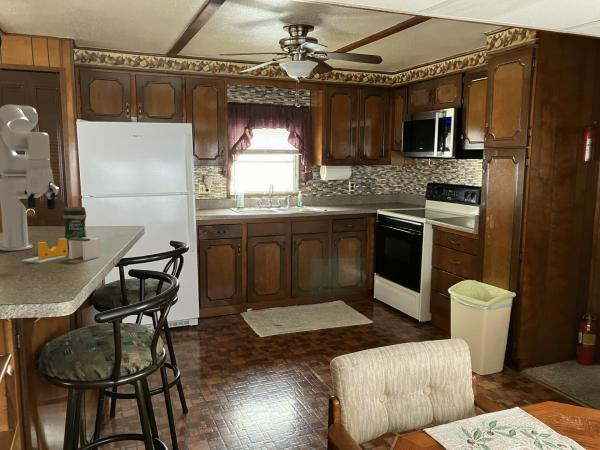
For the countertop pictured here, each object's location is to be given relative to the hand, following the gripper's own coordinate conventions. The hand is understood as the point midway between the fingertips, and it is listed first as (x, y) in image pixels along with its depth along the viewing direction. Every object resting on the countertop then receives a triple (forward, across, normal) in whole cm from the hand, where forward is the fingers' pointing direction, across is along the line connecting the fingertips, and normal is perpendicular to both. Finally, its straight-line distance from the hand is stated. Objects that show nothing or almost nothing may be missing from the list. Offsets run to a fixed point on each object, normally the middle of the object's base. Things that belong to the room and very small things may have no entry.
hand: (41, 208), depth 196 cm
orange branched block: (+20, +1, +3) cm, 20 cm away
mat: (+20, +1, 0) cm, 20 cm away
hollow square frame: (+20, +13, +8) cm, 25 cm away
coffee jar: (+21, -8, +26) cm, 34 cm away
